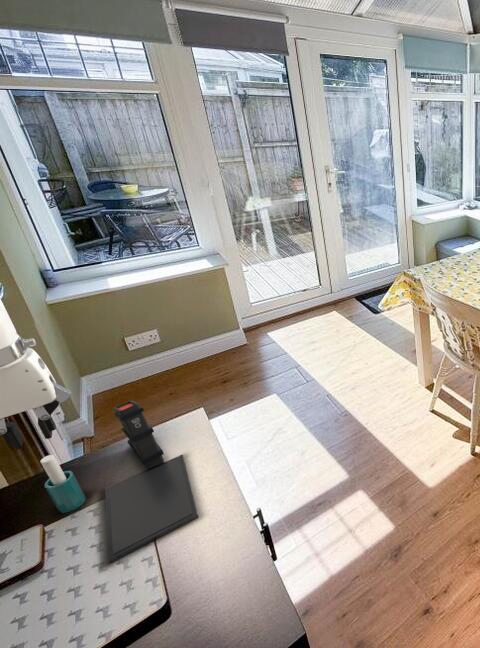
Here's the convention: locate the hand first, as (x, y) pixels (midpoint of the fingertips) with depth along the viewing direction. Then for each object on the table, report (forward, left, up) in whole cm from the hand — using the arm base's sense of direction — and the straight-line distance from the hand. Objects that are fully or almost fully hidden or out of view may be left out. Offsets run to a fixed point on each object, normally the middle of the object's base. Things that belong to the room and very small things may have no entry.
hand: (34, 438), depth 75 cm
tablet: (+12, -10, -18) cm, 23 cm away
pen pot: (0, 0, -18) cm, 18 cm away
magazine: (+12, +7, -18) cm, 23 cm away
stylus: (0, 0, -17) cm, 17 cm away
